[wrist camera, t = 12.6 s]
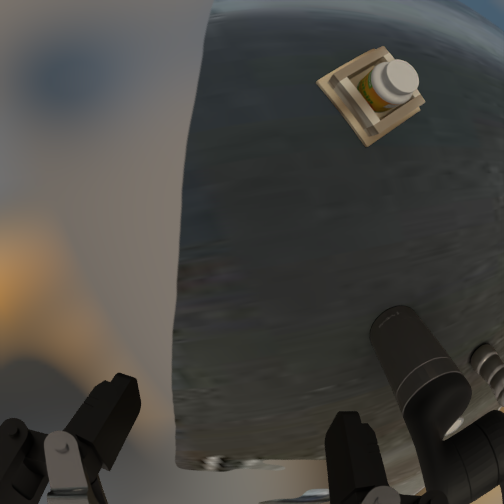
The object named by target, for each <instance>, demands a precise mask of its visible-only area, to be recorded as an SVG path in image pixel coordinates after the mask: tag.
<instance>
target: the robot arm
mask: <svg viewBox="0 0 504 504" xmlns="http://www.w3.org/2000/svg"><path fill="white" fill-rule="evenodd" d="M370 341H371V344H372V346H373V348H374V350H375V352H376V355H377V357H378V359H379V361H380V364H381V366H382V368H383V370H384V372H385V375H386V377H387V379H388V382H389V384H390V386H391V389H392V391H393V393H394V396H395V398H396V400H397V403H398V405H399V407H400V410H401V412H402V415H403V418H404V420H405V423H406V425H407V428H408V430H409V432H410V435H411V437H412V440H413V443H414V445H415V448H416V452H417V455H418V459H419V463H420V467H421V471H422V475H423V479H424V483H425V487H426V491H427V492H426V493H425V494H423V495H422V496H413V495H402V494H399V493H398V492H397V491H396V490H395V489H394V488H392V487H390V486H389V484H388V482H387V478H386V473H385V469H384V465H383V461H382V457H381V453H380V450H379V446H378V445H377V443H378V442H377V438H376V435H375V432H374V431H373V430H372V428H371V427H370V426H369V424H368V423H364V424H362V423H361V420H360V416H359V413H358V412H357V411H339V412H338V413H337V415H336V417H335V418H334V420H333V422H332V424H331V426H330V427H329V429H328V431H327V433H326V437H325V453H326V462H327V471H328V483H329V495H330V504H470V503H472V502H473V501H475V500H476V499H478V498H480V497H481V496H483V495H484V494H486V493H487V492H489V491H490V490H492V489H493V488H495V487H496V486H498V485H500V487H501V492H502V499H503V504H504V413H503V412H501V411H498V410H493V411H490V412H488V413H487V414H485V415H484V416H482V417H481V418H479V419H478V420H476V421H475V422H474V423H472V424H471V425H469V426H468V427H466V428H464V429H463V430H461V431H460V432H458V433H457V434H455V435H453V436H452V437H450V438H448V439H447V440H445V441H443V440H442V439H443V438H444V436H445V434H446V433H447V431H448V430H449V429H450V428H451V426H452V425H453V424H454V423H455V422H456V421H457V420H458V418H459V417H460V416H461V415H462V414H463V412H464V411H465V409H466V408H467V406H468V404H469V402H470V399H471V395H472V390H471V386H470V384H469V383H468V381H467V380H466V378H465V377H464V375H463V374H462V373H461V371H460V370H459V368H458V367H457V366H456V364H455V363H454V361H453V360H452V359H451V357H450V356H449V355H448V353H447V352H446V351H445V349H444V348H443V347H442V345H441V344H440V343H439V342H438V340H437V339H436V338H435V336H434V335H433V334H432V333H431V331H430V330H429V329H428V328H427V326H426V325H425V324H424V322H423V321H422V320H421V319H420V318H419V316H418V315H417V314H416V313H415V312H414V310H413V309H411V308H409V307H406V306H397V307H393V308H390V309H388V310H387V311H385V312H384V313H382V314H381V315H380V316H379V317H378V318H377V319H376V321H375V322H374V324H373V326H372V328H371V331H370ZM140 408H141V399H140V394H139V389H138V383H137V380H136V378H134V377H131V376H128V375H125V374H122V373H117V374H116V375H115V376H114V378H113V379H112V381H111V382H108V381H106V380H105V381H103V382H102V383H100V384H98V385H97V386H95V387H94V389H93V390H92V391H91V393H90V394H89V397H87V399H86V400H85V401H84V404H82V405H81V407H80V408H79V410H78V411H77V412H76V414H75V415H74V416H73V418H72V419H71V421H70V422H69V424H68V425H67V426H66V428H65V429H64V430H63V431H55V432H52V433H50V434H44V433H40V432H36V431H33V430H29V429H28V428H27V426H26V425H25V424H24V422H23V421H21V420H19V419H17V418H10V419H7V420H5V421H4V422H3V423H2V425H1V426H0V504H38V503H39V501H40V498H41V496H42V494H43V492H44V490H45V488H46V486H47V484H48V482H50V487H51V491H50V492H49V493H48V494H47V502H48V504H108V502H107V499H106V496H105V493H104V490H103V487H102V485H101V481H100V478H99V475H98V473H99V471H100V469H101V468H103V469H106V470H108V471H110V470H111V468H112V466H113V464H114V462H115V460H116V458H117V456H118V454H119V452H120V450H121V448H122V446H123V444H124V442H125V440H126V438H127V436H128V434H129V432H130V430H131V428H132V426H133V424H134V422H135V420H136V418H137V416H138V414H139V412H140Z"/></svg>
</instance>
